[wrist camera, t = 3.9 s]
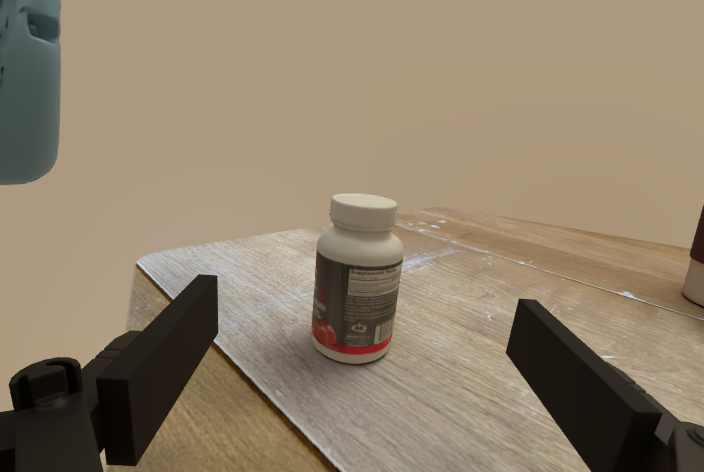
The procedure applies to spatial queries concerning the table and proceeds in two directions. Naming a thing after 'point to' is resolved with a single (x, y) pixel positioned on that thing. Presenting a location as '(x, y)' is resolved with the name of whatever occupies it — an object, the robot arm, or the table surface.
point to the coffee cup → (696, 267)
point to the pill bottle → (357, 279)
